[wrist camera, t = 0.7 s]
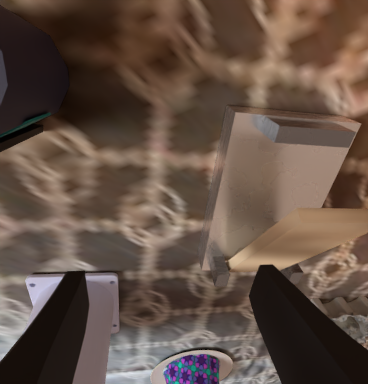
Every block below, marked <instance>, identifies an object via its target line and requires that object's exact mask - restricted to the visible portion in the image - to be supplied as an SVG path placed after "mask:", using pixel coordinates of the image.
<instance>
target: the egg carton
mask: <svg viewBox="0 0 368 384" xmlns="http://www.w3.org/2000/svg"><path fill="white" fill-rule="evenodd" d="M310 301H311V302H312V303H313V304H314V305H315V306H316V307H318V308H319V309H320V310H321V311H322V312H323V313H324V314H325V315H326V316H327V317H329V318H330V319H331V320H332V321H334V322H335V324H337V325H338V326H339V327H340V328H341V329H342V330H343V331H345V332H346V333H347V334H348V335H349V336H351V337H352V338H353V339H354V340H356V341H357V342H358V343H362V342H363V343H365V342H366V341H365V337H367V336H368V299H367V298H366V297H365V296H359V297H358V298H357V299H355V300H354V301H352V302H348V303H346V301H345V300H344V298H343V297H336V298H335V299H334V300H332V301H331V302H329V303H325V304H322V302H321V301H320V299H319V298H313V299H311V300H310Z"/></svg>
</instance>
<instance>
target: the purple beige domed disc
mask: <svg viewBox="0 0 368 384" xmlns="http://www.w3.org/2000/svg"><path fill="white" fill-rule="evenodd" d="M190 354H201V355H198V356H193V355H190ZM207 354H209V355H207ZM186 355H188V356H186ZM210 355H212V356H215V357H216V358H218V359H219V361H220V367H219V361H218V359H216V358H211V357H210ZM182 356H184V357H182ZM180 357H182V358H181V359H180V360H178V361H173V360H175V359H177V358H180ZM171 361H173V362H171ZM170 362H171V363H170ZM169 363H170V364H169ZM167 364H169V365H168V366H167V370H166V371H164V376H163V369H164V368H165V366H166V365H167ZM232 368H233V361H232V359H231V358H230V357H229V356H228V355H226V354H224V353H221V352H218V351H212V350H197V351H190V352H185V353H181V354H178V355H175V356H173V357H170V358H168V359H166V360H164V361H163V362H161V363H160V364H158V365H157V366H156V367H155V368H154V370H153V371H152V373H151V376H150V378H151V382H152V383H153V384H219V381H221V380H222V379H224V378H225V377H226V376H227V375H228V374H229V373H230V372H231V370H232Z"/></svg>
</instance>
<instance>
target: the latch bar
mask: <svg viewBox="0 0 368 384" xmlns="http://www.w3.org/2000/svg"><path fill="white" fill-rule="evenodd" d="M366 233H368V209H343V208H296V209H294V210H293V211H292V212H290V213H289V214H288V215H287V216H285V217H284V218H283V219H281V220H280V221H279V222H278V223H276V224H275V225H274V226H272V227H271V228H270V229H268V230H267V231H266V232H265V233H263V234H262V235H261V236H259V237H258V238H257V239H256V240H254V241H253V242H252V243H250V244H249V245H248V246H247V247H245V248H244V249H243V250H241V251H240V252H239V253H237V254H236V255H235V256H234V257H232V258H231V259H230V260H228V261H227V262H226V265H227V268H228V271H229V272H251V271H258V268H259V265H267V264H273V265H274V266H275V267H276V268H277V269H278V270H279V271H280V270H282V269H284V268H287V267H289V266H291V265H294V264H296V263H298V262H301V261H303V260H305V259H308V258H310V257H312V256H315V255H317V254H319V253H322V252H324V251H326V250H329V249H331V248H333V247H336V246H338V245H340V244H343V243H345V242H348V241H350V240H352V239H355V238H357V237H359V236H362V235H364V234H366Z"/></svg>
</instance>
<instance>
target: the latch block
mask: <svg viewBox="0 0 368 384" xmlns="http://www.w3.org/2000/svg"><path fill="white" fill-rule="evenodd" d="M360 125H361V123H359V122H356V121H354V120H351V119H348V118H346V117H343V116H337V115H327V114H316V113H305V112H295V111H284V110H274V109H263V108H252V107H242V106H231V105H227V106H226V111H225V116H224V121H223V127H222V132H221V137H220V142H219V147H218V152H217V157H216V162H215V168H214V173H213V178H212V183H211V188H210V193H209V198H208V204H207V209H206V214H205V219H204V224H203V229H202V234H201V240H200V245H199V250H198V258H199V262H200V266H201V270H210V271H211V274H212V278H213V281H214V285H215V286H227V282H228V279H229V276H230V274H229V271H228V268H227V265H226V262H227V261H228V260H230V259H231V258H232V257H234V256H235V255H236V254H237V253H239V252H240V251H241V250H243V249H244V248H245V247H247V246H248V245H249V244H250V243H252V242H253V241H254V240H256V239H257V238H258V237H259V236H261V235H262V234H263V233H265V232H266V231H267V230H268V229H270V228H271V227H272V226H274V225H275V224H276V223H278V222H279V221H280V220H281V219H283V218H284V217H285V216H287V215H288V214H289V213H290V212H292V211H293V210H294V209H296V208H321V207H322V205H323V203H324V201H325V199H326V197H327V195H328V193H329V191H330V188H331V186H332V184H333V182H334V180H335V178H336V176H337V174H338V172H339V170H340V167H341V165H342V163H343V161H344V159H345V157H346V155H347V153H348V151H349V149H350V146H351V144H352V142H353V140H354V138H355V136H356V134H357V132H358V130H359V128H360ZM280 272H281V273H282V274H283V275H284V276H285V277H286V278H287V279H288V280H289V281H290V282H292V283H293V284H297V283H298V282H299V280H300V278H301V276H302V274H303V271H302V270H301V268H300V267H299V265H298V264H297V263H296V264H294V265H291V266H289V267H287V268H284V269H282V270H280Z"/></svg>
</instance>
